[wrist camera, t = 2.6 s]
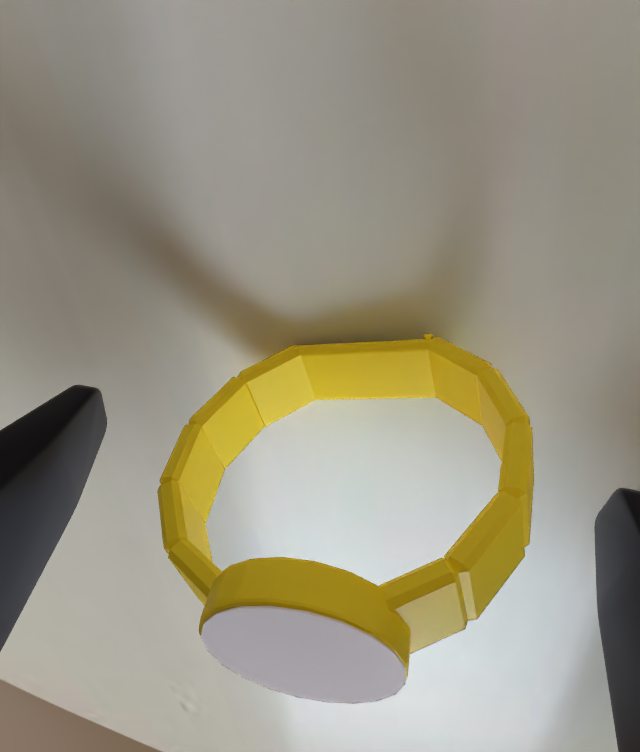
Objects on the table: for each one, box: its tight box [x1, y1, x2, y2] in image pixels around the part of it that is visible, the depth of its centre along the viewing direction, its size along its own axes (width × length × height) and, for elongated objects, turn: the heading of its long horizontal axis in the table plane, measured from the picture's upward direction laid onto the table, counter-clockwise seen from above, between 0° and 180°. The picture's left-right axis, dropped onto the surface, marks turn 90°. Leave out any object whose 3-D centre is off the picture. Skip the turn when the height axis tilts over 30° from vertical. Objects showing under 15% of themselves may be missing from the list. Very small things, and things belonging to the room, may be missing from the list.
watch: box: [158, 334, 534, 704], centre depth 10 cm, size 6×3×6 cm, turn 104°
